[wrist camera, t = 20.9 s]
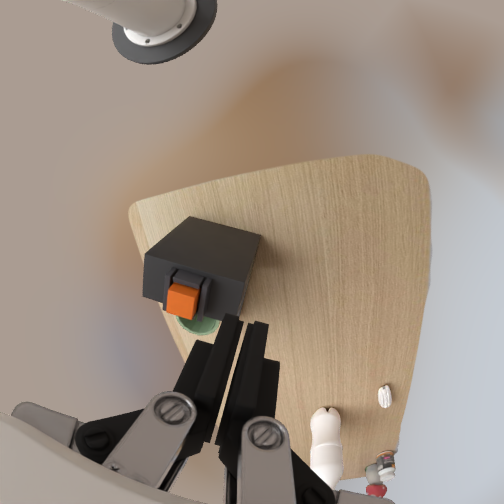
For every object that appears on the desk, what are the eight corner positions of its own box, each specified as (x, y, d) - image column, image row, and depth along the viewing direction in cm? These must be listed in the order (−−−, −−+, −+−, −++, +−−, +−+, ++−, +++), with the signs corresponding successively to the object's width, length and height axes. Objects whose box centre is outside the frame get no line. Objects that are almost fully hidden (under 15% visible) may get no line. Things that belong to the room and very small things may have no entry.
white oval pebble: (389, 380, 55) (391, 389, 52) (390, 400, 57) (392, 408, 55) (375, 384, 56) (378, 393, 53) (378, 404, 58) (380, 412, 56)
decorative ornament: (361, 466, 72) (364, 502, 58) (379, 459, 70) (383, 496, 56) (369, 473, 74) (372, 506, 60) (386, 467, 72) (390, 501, 58)
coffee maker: (189, 216, 47) (136, 260, 30) (260, 234, 46) (242, 291, 30) (178, 297, 53) (136, 360, 36) (239, 315, 53) (217, 387, 36)
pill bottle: (395, 449, 67) (400, 474, 57) (387, 457, 69) (391, 481, 60) (380, 450, 67) (384, 475, 58) (372, 458, 69) (375, 482, 60)
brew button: (175, 280, 31) (167, 289, 29) (200, 287, 31) (194, 298, 29) (173, 302, 33) (166, 312, 31) (197, 309, 33) (191, 320, 31)
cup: (193, 268, 49) (177, 291, 41) (233, 279, 49) (223, 305, 41) (188, 301, 52) (173, 327, 44) (225, 312, 51) (215, 340, 44)
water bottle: (341, 417, 61) (345, 504, 38) (313, 422, 63) (310, 508, 40) (338, 401, 59) (344, 495, 36) (308, 406, 61) (305, 500, 38)
